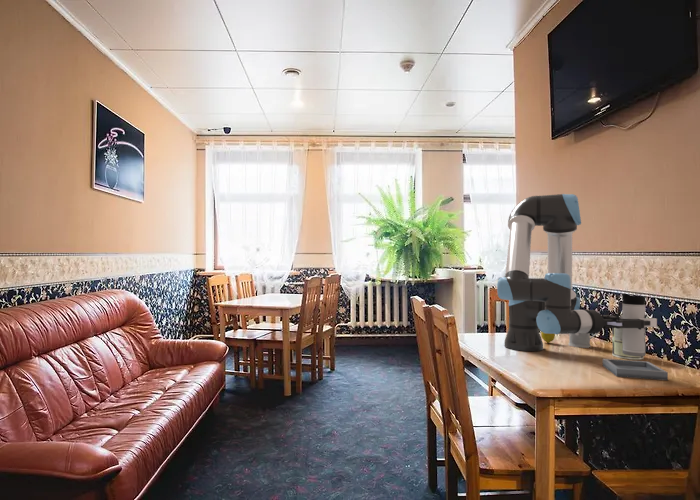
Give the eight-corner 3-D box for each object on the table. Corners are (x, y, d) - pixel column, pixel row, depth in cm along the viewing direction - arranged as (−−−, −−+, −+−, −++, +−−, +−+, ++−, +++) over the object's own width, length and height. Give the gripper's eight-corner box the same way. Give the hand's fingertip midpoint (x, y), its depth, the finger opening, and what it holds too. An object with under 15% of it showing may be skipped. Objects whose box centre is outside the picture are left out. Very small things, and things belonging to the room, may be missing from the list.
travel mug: (617, 352, 141) (617, 293, 141) (637, 352, 141) (636, 293, 141) (629, 356, 134) (628, 294, 135) (650, 356, 134) (649, 294, 135)
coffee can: (606, 353, 167) (606, 318, 167) (634, 354, 166) (633, 318, 166) (620, 359, 156) (620, 321, 157) (650, 360, 155) (649, 322, 156)
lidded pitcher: (564, 343, 186) (564, 309, 186) (598, 344, 185) (598, 310, 185) (573, 347, 177) (573, 312, 178) (608, 348, 176) (608, 313, 176)
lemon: (544, 341, 190) (544, 323, 190) (556, 343, 186) (556, 325, 186) (539, 343, 186) (539, 325, 186) (552, 344, 182) (552, 326, 182)
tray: (616, 376, 133) (616, 368, 133) (602, 365, 146) (602, 358, 146) (667, 380, 129) (667, 372, 129) (648, 369, 143) (648, 361, 143)
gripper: (564, 328, 144) (623, 327, 148) (607, 338, 125) (673, 337, 129) (564, 306, 144) (623, 306, 148) (607, 313, 126) (673, 313, 129)
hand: (646, 321), depth 139 cm, fingers closed on travel mug, 6 cm apart
